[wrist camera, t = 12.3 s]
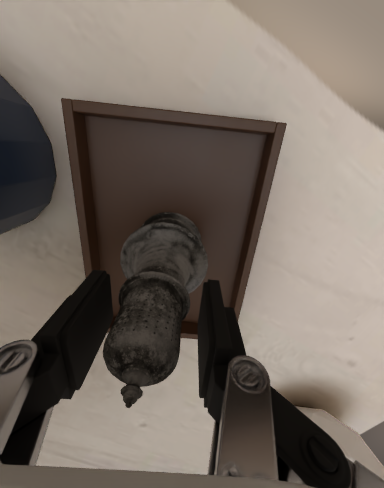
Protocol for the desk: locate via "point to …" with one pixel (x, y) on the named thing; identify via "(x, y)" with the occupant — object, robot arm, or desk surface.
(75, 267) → the desk surface
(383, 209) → the desk surface
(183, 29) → the desk surface
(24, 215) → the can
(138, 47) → the desk surface
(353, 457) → the geodesic sphere
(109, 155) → the tray
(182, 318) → the salt shaker
